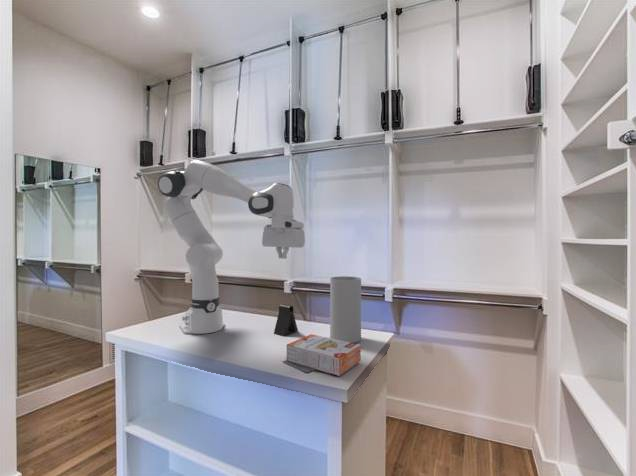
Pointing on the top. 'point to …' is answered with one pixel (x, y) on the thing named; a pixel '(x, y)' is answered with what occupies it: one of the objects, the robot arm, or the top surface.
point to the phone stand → (285, 321)
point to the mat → (300, 367)
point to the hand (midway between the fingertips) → (282, 258)
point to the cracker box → (324, 354)
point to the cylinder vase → (345, 309)
